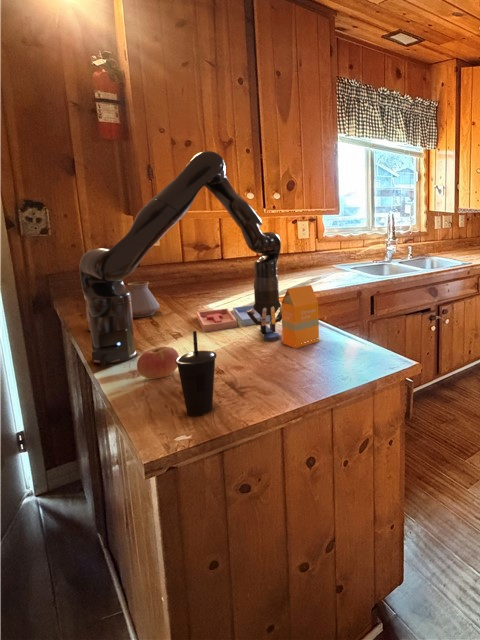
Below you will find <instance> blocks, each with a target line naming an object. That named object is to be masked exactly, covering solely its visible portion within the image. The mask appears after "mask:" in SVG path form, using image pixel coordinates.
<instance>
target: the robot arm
mask: <svg viewBox="0 0 480 640" xmlns="http://www.w3.org/2000/svg"><path fill="white" fill-rule="evenodd" d="M226 169H227V168H226V163H225V160H224V158H223V157H222V155H220V154H219V153H217V152H215V151H211V150H206V151H202V152H198V153H197V154H195V155H194V156H193V157H192V158H191V159H190V161H189V162H188V163H187V164H186V166H185V167H184V168H183V169H182V170H181V171H180V173H179V174H178V175H176V177H175V178H173V180H171V181H170V182H169V183H168V184H167V185H166V186H164V187H163V188H162V189H161V190H160V191H159V192H158V193H157V194H156V195H154V196H153V197H152V198H151V199H150V200H149V201H148V202H146V203H145V205H144V206H142V207H141V208H140V209H139V211H138V212H137V214H136V216H135V218H134V220H133V222H132V225H131V227H130V228H129V230H128V232H127V233H126V234H125V235H124V236H123V237H122V238H121V239H120V240H119V241H118V242H117V243H116V244H114V245H113V246H111V247H110V248H104V247H103V248H94V249H91V250H88V251H86V252H85V253H83V255H82V256H81V258H80V261H79V265H78V266H79V267H78V268H79V276H80V282H81V283H80V284H81V286H82V287H81V289H82V294H83V296H84V295H85V297H86V299H87V303H88V312H89V322H90V330H89V331H90V339H91V348H92V350H91V358H92V361H93V363H94V364H97V365H100V366H101V367H102V368H103V367H106V365H108V364H115V363H121V362H126V361H130V360H131V359H133V358H134V357H136V356H137V349H136V339H135V338H136V337H135V327H134V317H133V314H132V302H131V293H130V292H129V291H130V290H129V289H128V288H127V286H126V285H125V283H124V280H125V279H126V278H127V277H129V276H130V275H131V274H132V273H133V272H134V271H135V269H136V268H137V267H138V265H139V264H140V263H141V262H142V261H143V259H144V258H145V257H146V255H147V254H148V253H149V251H150V250H152V249H153V247H154V246H156V244H157V243H158V242H159V241H160V240H161V239H162V238H163V237H164V236H165V235H167V234H168V232H169V231H170V230H171V229H172V228H173V227H174V226H175V225H177V223H178V222H180V221H181V220H182V218H184V216H185V215H186V214H187V212H188V211H189V209H191V206H192V204H193V203H194V202H195V199H196V198H197V196H198V193H199V192H200V191H201V189H202V188H204V187H205V188H206V189H207V190H208V191H209V192H210V193H211V194H212V195H213V196H215V198H216V199H217V200H218V201H219V203H220V204H221V205H222V207H224V209H225V210H226V212H227V213H228V214H229V216H230V217H231V219H232V220H233V221H234V222H235V224H236V225H237V227H238V228H239V229H240V231H241V234H242V237H243V239H244V241H245V244H246V246H247V247H248V249H249V250H250V251H252V252H253V253H255V254H259V255H260V257H259V258H258V259H257V260H255V261H254V264H253V273H254V277H253V278H254V279H253V292H254V293H253V295H254V304H253V305H254V306H253V308H252V309H250V310H247V311H246V313H247V314H248V316H249V317H250V318H251V319H252V320H253V322H254V323H255V324H254V325H256V326H260V333H261V335H262V336H264V335H265V334H266V325H267V324H266V323H267V322H266V316H268V315H269V316H270V322H269V328H270V330H271V331H272V332H273V333H276V324H277V323H280V322H282V304H281V302H280V291H279V290H280V289H279V286H280V285H279V277H278V261H279V258H280V254H281V249H282V242H281V239H280V236H279V234H277V233H276V232H273V231H266V232H262V231H261V230H260V228H261V226H262V225H263V222H262V219H261V217H260V216H259V215H258V214H257V212H256V211H255V210H254V209H253V207H252V205H250V204H249V203H248V201H247V200H245V199H244V198H243V197H242V196H241V195H239V194H238V192H236V190H235V189H234V188H233V186H232V184H231V183H230V181H229V179H228V177H227V170H226ZM128 290H129V291H128ZM278 310H279V312H278ZM254 311H256V312H258V313H259V314H260V321H258V320H257V319H256V318H255V317H254V314H255V312H254ZM277 312H278V313H277ZM276 313H277V315H276Z"/></svg>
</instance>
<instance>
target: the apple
mask: <svg viewBox="0 0 480 640" xmlns="http://www.w3.org/2000/svg"><path fill="white" fill-rule="evenodd" d="M179 357H180V354H179V352H178V351H177V350H176V349H175V348H174V347H171V346H167V345H166V346H158V347H154V348H151V349H148V350H146V351H144V352H143V353H141V355H140V356H139V357H138V359H137V362H136V370H137V372H138V374H139V375H140V376H141V377H143V378H145V379H149V380H151V379H152V380H153V379H155V380H156V379H161V378H165V377H168V376H170V375H172V374H174V372H175V371H176V370H178V365H177V364H176V363H175V361H176V359H177V358H179Z"/></svg>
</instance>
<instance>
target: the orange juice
mask: <svg viewBox="0 0 480 640" xmlns="http://www.w3.org/2000/svg"><path fill="white" fill-rule="evenodd" d="M280 304H281V305H282V320H281V330H282V331H281V332H282V333H281V334H282V344H283V345H286V346H289V347H291V348H293V349H299V348H301V347H305V346H308V345H312V344H314V343H318V342H320V329H319V326H320V318H319V301H318V298H317V296H316V293H315V291H314V288H313V286H312V285H311V284H308V285H303V286H302V285H301V286H297V287H289V288H287V290H286V291H285V294H284V296H283V298H282V301H281V302H280ZM317 338H319V339H317ZM314 339H315V340H314ZM311 340H312V341H311ZM307 341H309V342H307ZM304 342H306V343H304ZM301 343H302V344H301ZM295 345H296V346H295Z"/></svg>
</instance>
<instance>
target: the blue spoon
mask: <svg viewBox="0 0 480 640" xmlns="http://www.w3.org/2000/svg"><path fill="white" fill-rule="evenodd" d="M265 325H266V334H265V335H262V339H263V341H265V342H271V341H276V340H277V341H278V340H279V339H280V333H279V332H274V333H273V332H272V331H271V330H270V326H268V325H267V324H265Z"/></svg>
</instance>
